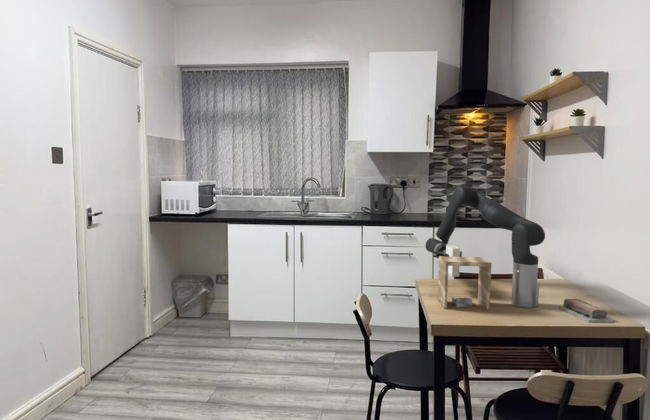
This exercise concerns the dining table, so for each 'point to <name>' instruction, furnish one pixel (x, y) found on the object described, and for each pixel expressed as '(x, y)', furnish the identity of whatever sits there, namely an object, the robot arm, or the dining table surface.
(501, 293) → the dining table surface
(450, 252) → the white box
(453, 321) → the dining table surface
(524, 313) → the dining table surface
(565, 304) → the packaged product
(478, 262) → the wooden arch
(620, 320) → the dining table surface
